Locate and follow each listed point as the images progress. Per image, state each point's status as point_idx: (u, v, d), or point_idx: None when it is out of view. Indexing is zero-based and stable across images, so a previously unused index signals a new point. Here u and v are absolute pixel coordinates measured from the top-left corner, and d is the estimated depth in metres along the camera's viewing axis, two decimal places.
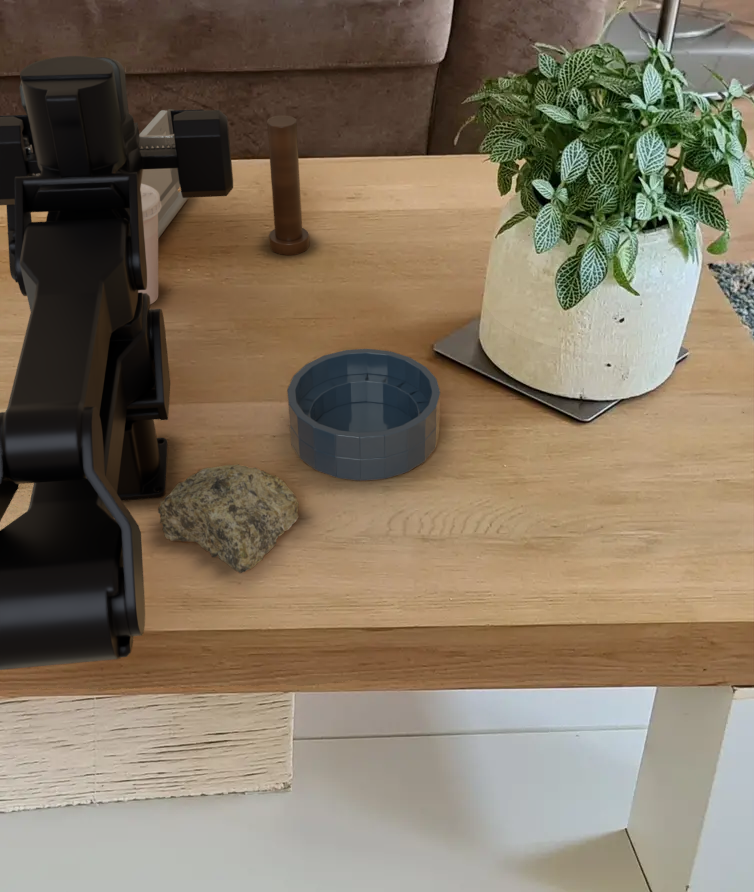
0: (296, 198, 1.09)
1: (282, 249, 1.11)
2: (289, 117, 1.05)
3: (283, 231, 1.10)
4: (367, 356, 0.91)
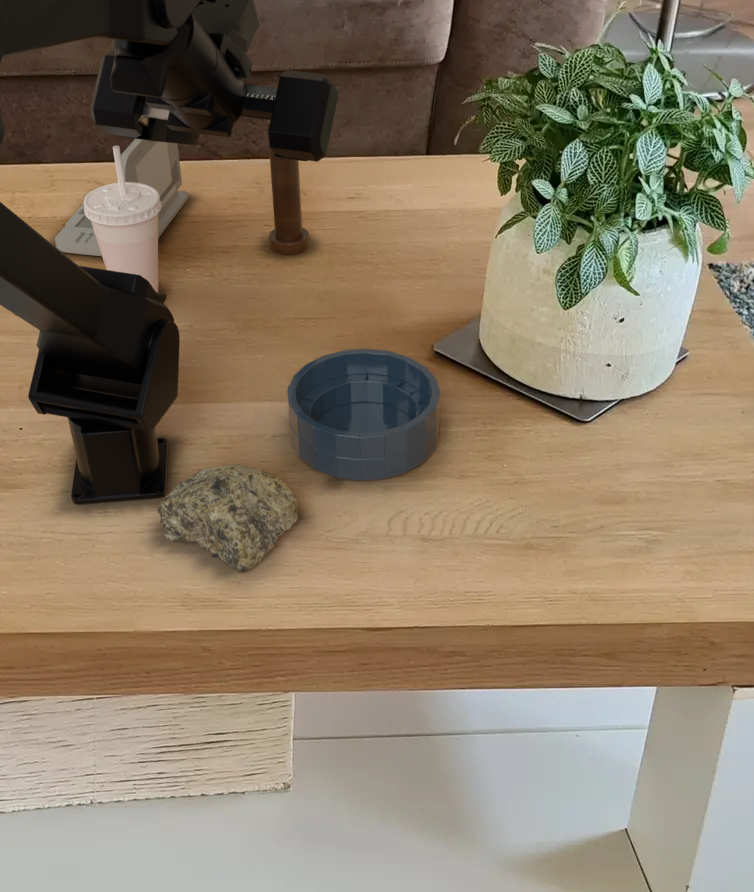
0: (296, 198, 1.09)
1: (282, 249, 1.11)
2: None
3: (283, 231, 1.10)
4: (367, 356, 0.91)
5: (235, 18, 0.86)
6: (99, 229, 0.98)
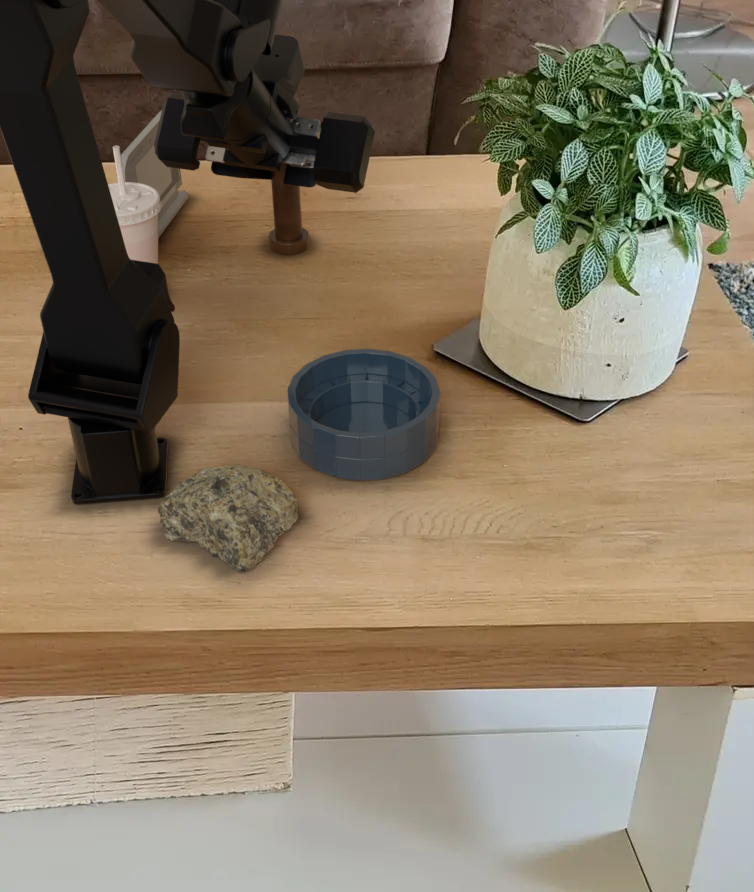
0: (296, 198, 1.09)
1: (282, 249, 1.11)
2: None
3: (283, 231, 1.10)
4: (367, 356, 0.91)
5: (285, 67, 0.98)
6: None
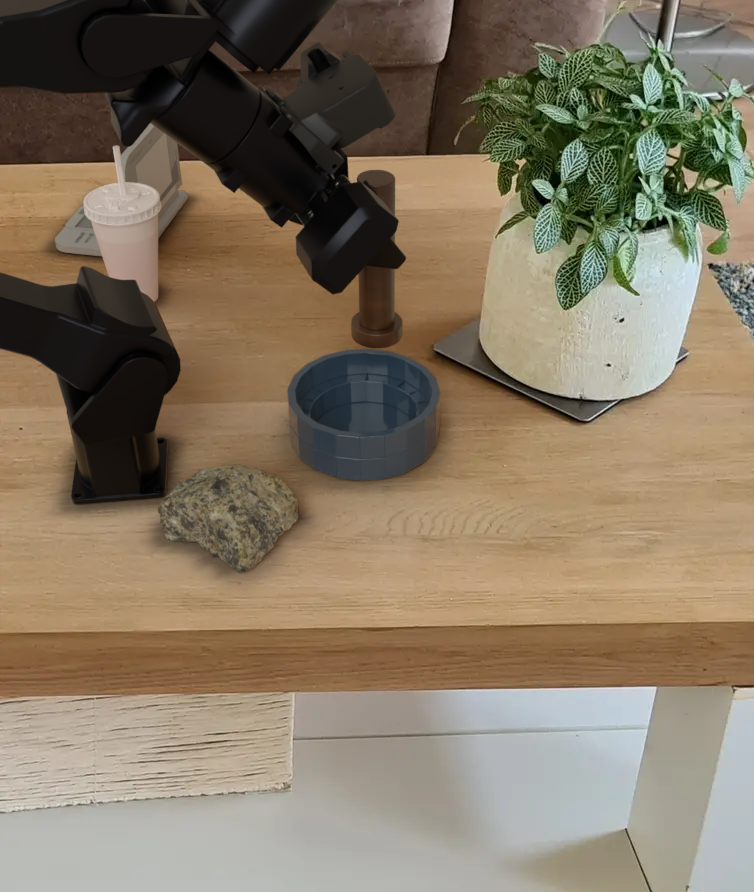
0: (375, 280, 0.82)
1: (352, 332, 0.86)
2: (390, 178, 0.79)
3: (360, 312, 0.85)
4: (367, 356, 0.91)
5: (330, 104, 0.72)
6: (99, 229, 0.98)
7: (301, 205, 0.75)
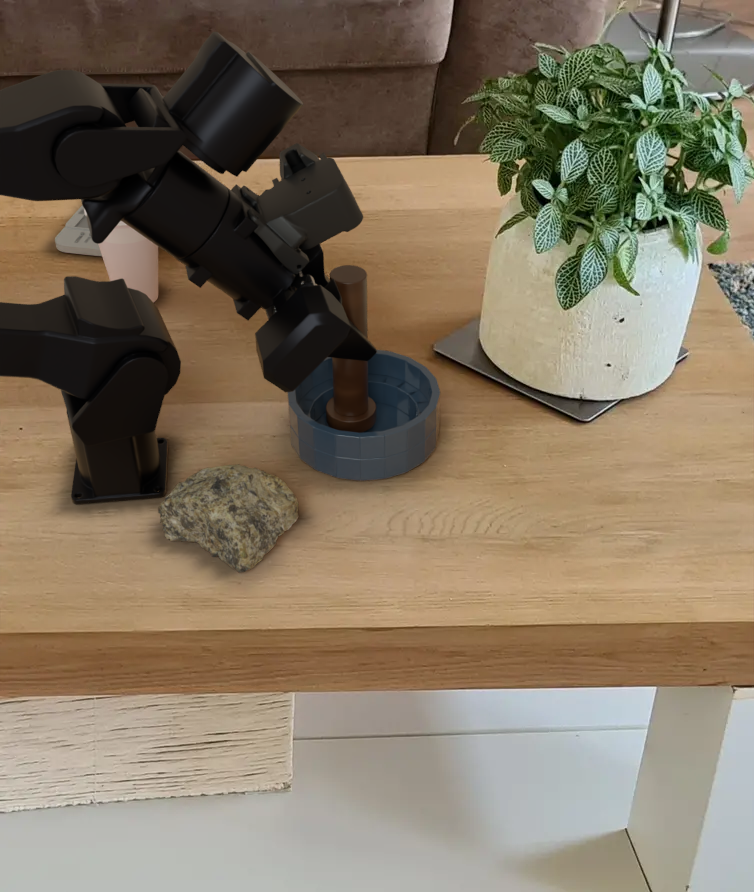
0: (346, 370, 0.84)
1: (326, 416, 0.88)
2: (362, 275, 0.81)
3: (334, 398, 0.87)
4: None
5: (295, 208, 0.75)
6: None
7: (267, 301, 0.77)
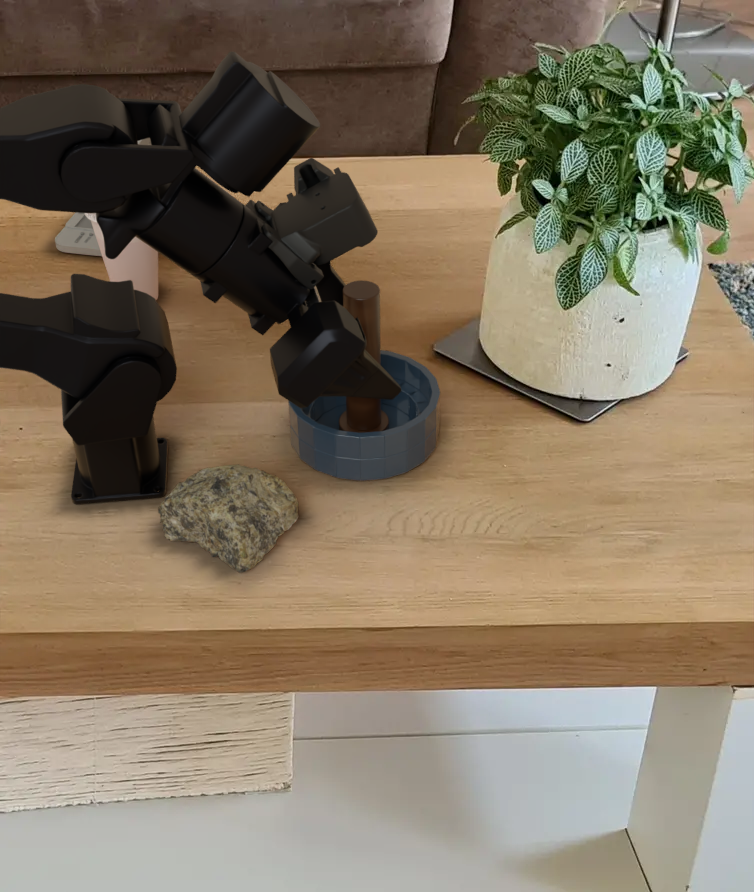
0: None
1: None
2: (375, 290, 0.81)
3: (347, 412, 0.87)
4: None
5: (310, 223, 0.75)
6: (99, 229, 0.98)
7: (281, 316, 0.77)
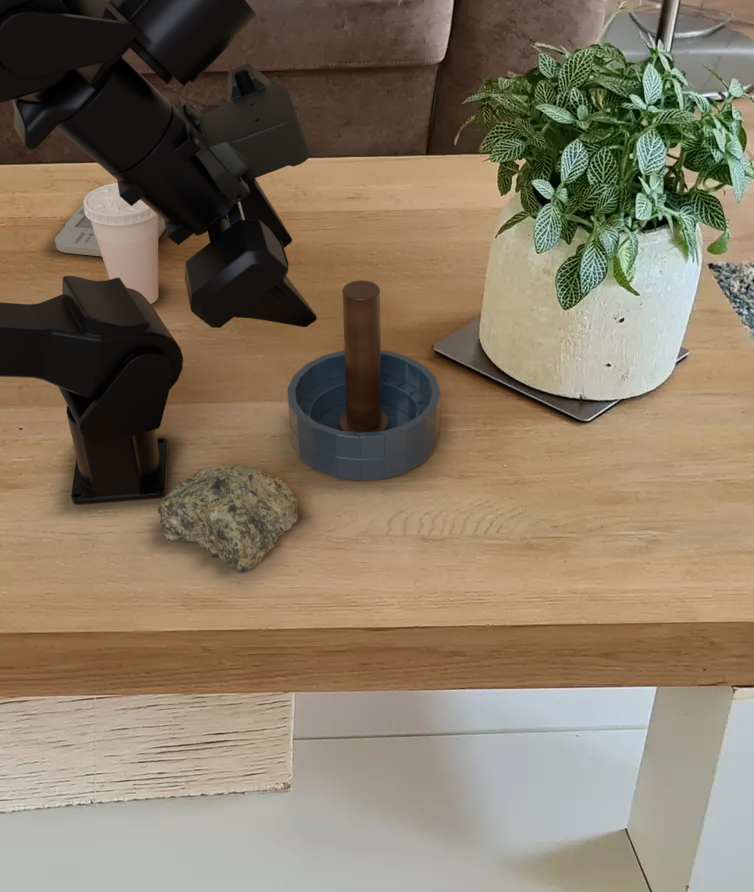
0: (359, 384, 0.85)
1: None
2: (375, 290, 0.81)
3: (347, 412, 0.87)
4: None
5: (242, 135, 0.71)
6: (99, 229, 0.98)
7: (200, 228, 0.74)
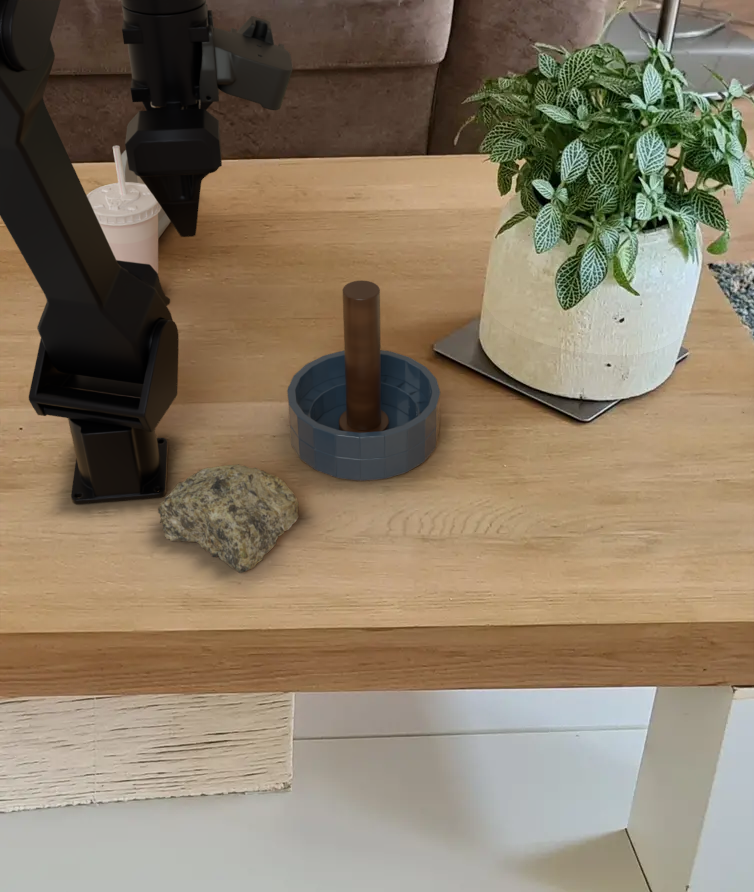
0: (359, 384, 0.85)
1: None
2: (375, 290, 0.81)
3: (347, 412, 0.87)
4: None
5: (244, 56, 0.82)
6: None
7: (161, 100, 0.82)
